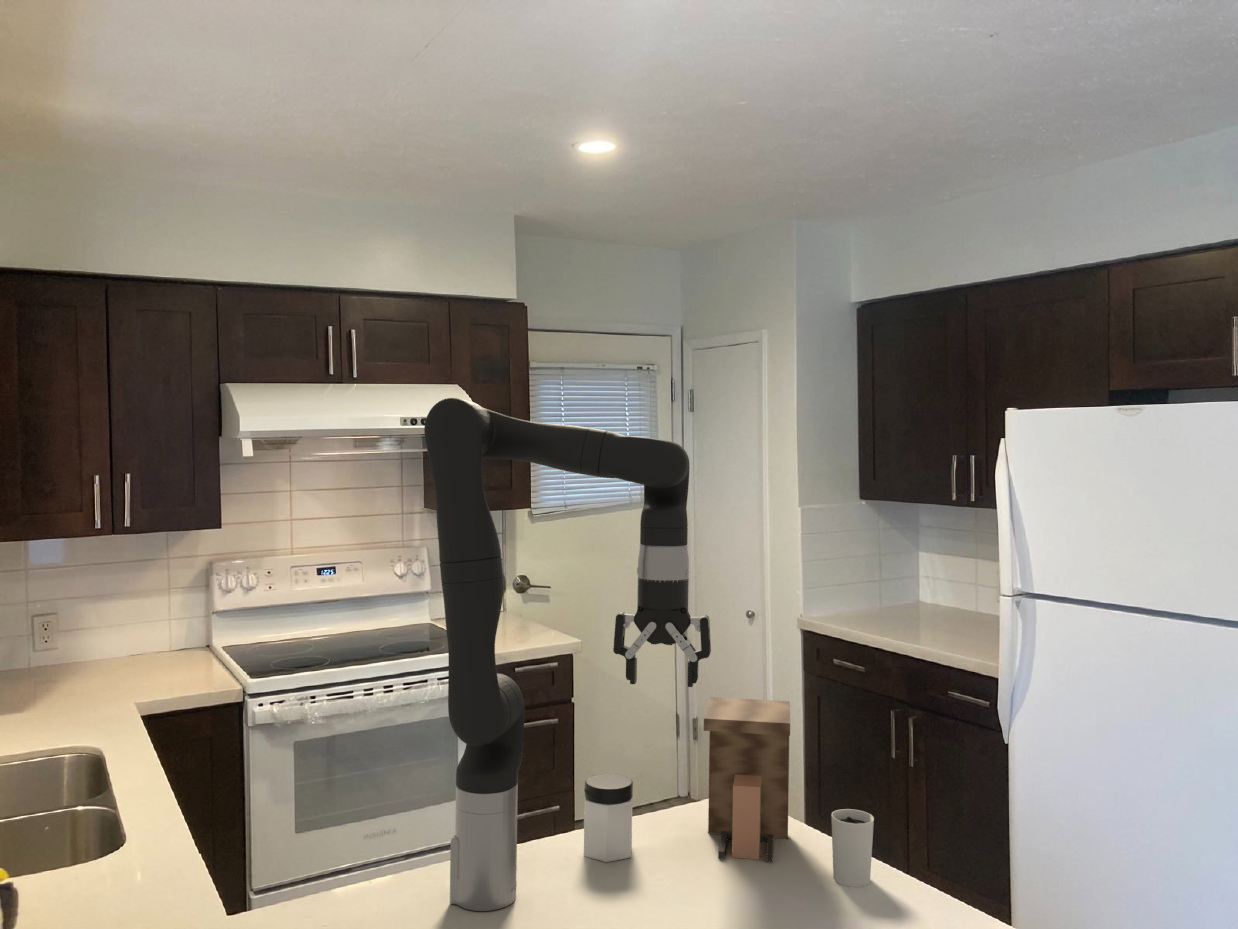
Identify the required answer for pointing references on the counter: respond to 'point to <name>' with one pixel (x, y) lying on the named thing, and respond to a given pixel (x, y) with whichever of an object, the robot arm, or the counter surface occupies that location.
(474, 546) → the robot arm
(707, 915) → the counter surface
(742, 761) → the shelf
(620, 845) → the jar
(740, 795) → the tall terracotta pillar
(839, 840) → the white cup
